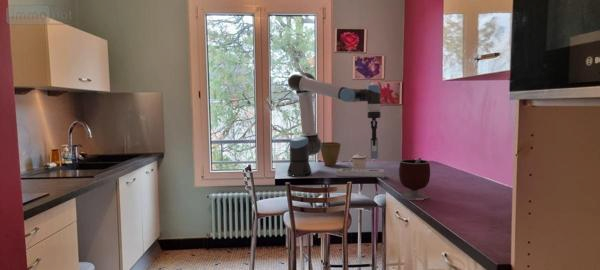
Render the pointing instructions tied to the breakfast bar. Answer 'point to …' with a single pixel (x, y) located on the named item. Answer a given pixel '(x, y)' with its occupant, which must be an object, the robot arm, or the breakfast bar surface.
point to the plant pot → (330, 152)
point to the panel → (361, 172)
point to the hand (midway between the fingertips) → (374, 150)
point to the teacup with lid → (358, 161)
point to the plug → (374, 153)
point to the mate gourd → (414, 177)
